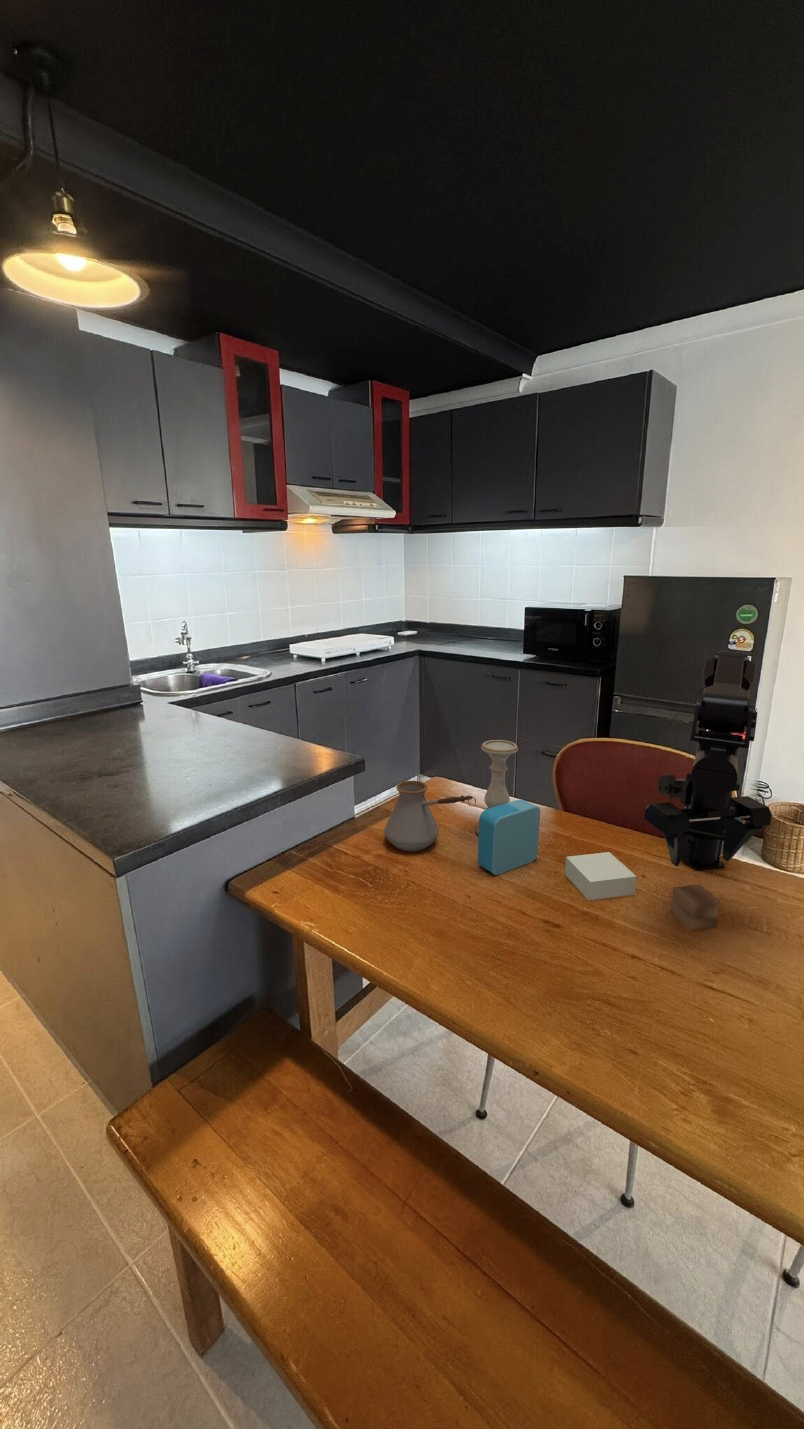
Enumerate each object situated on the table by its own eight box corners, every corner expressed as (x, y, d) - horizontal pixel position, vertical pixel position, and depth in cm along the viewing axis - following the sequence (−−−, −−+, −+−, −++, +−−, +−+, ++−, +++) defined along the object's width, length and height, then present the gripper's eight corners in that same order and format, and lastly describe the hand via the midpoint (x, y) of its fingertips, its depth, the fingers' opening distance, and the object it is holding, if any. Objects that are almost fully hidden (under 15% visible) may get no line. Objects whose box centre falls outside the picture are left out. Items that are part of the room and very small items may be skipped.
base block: (607, 870, 114) (609, 852, 113) (634, 896, 105) (636, 876, 104) (564, 875, 112) (566, 856, 111) (588, 902, 103) (590, 881, 102)
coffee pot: (373, 843, 123) (372, 777, 120) (409, 825, 132) (409, 762, 128) (453, 880, 110) (455, 806, 106) (488, 857, 118) (491, 788, 114)
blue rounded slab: (521, 851, 120) (524, 797, 117) (537, 860, 117) (541, 804, 114) (476, 867, 114) (479, 810, 111) (492, 877, 110) (495, 819, 107)
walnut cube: (695, 910, 101) (699, 884, 99) (715, 927, 96) (720, 900, 95) (669, 913, 100) (673, 887, 99) (688, 931, 95) (692, 904, 94)
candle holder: (471, 825, 132) (474, 739, 127) (509, 823, 133) (513, 738, 127) (480, 843, 124) (484, 752, 118) (520, 841, 124) (526, 751, 119)
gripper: (730, 752, 100) (717, 835, 104) (630, 758, 97) (621, 843, 101) (782, 775, 90) (765, 866, 94) (672, 784, 86) (659, 877, 91)
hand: (700, 862), depth 95 cm, fingers open, 9 cm apart
